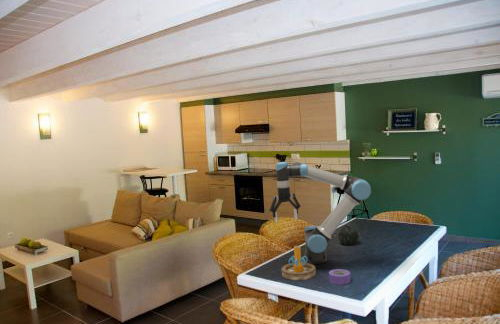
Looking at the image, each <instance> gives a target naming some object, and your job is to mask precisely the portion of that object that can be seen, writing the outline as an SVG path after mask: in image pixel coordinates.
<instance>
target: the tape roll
mask: <svg viewBox="0 0 500 324" xmlns="http://www.w3.org/2000/svg"><path fill="white" fill-rule="evenodd" d="M328 281H329V283H330V284H333V285H338V286H341V285H342V286H343V285H347V284H348V285H349V284H350V283H351V272H350V271H349V270H348V269H341V268H339V269H338V268H336V269H332V270H330V271H329V272H328Z"/></svg>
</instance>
